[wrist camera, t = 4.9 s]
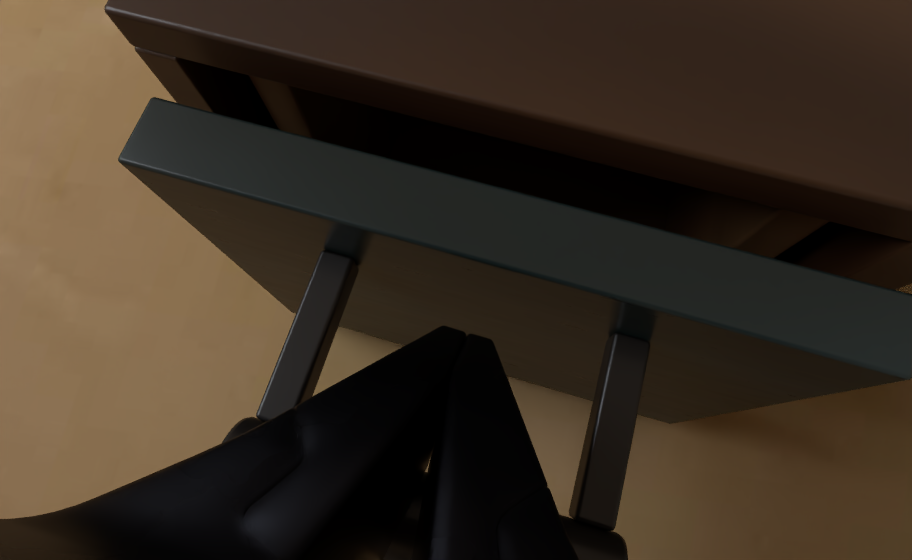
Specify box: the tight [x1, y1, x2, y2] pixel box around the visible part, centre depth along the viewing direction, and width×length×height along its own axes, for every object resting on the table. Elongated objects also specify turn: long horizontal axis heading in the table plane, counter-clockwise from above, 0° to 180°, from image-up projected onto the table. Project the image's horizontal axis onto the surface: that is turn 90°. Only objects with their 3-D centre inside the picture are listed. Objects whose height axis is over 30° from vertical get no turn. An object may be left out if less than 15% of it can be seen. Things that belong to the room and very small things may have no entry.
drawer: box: [118, 76, 912, 560], centre depth 13 cm, size 18×11×9 cm, turn 163°
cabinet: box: [105, 0, 912, 290], centre depth 15 cm, size 15×13×11 cm
